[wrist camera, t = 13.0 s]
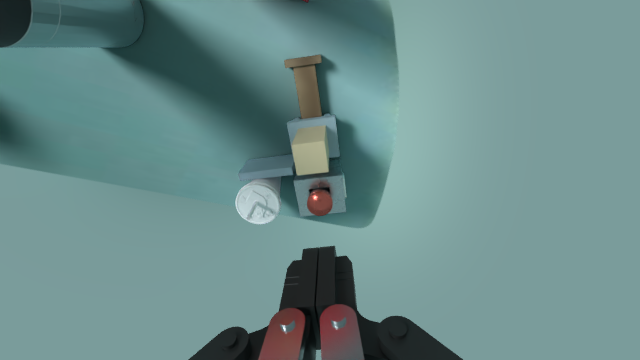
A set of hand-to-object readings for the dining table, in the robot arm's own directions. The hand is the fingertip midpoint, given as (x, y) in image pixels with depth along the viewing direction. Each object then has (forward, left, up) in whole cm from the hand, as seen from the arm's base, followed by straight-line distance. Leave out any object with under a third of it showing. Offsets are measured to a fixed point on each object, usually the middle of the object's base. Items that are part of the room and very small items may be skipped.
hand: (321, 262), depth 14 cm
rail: (-2, 0, -35) cm, 35 cm away
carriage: (-6, -3, -35) cm, 35 cm away
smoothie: (-11, -10, -35) cm, 38 cm away
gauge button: (-3, -10, -33) cm, 35 cm away
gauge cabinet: (-2, -11, -35) cm, 37 cm away
